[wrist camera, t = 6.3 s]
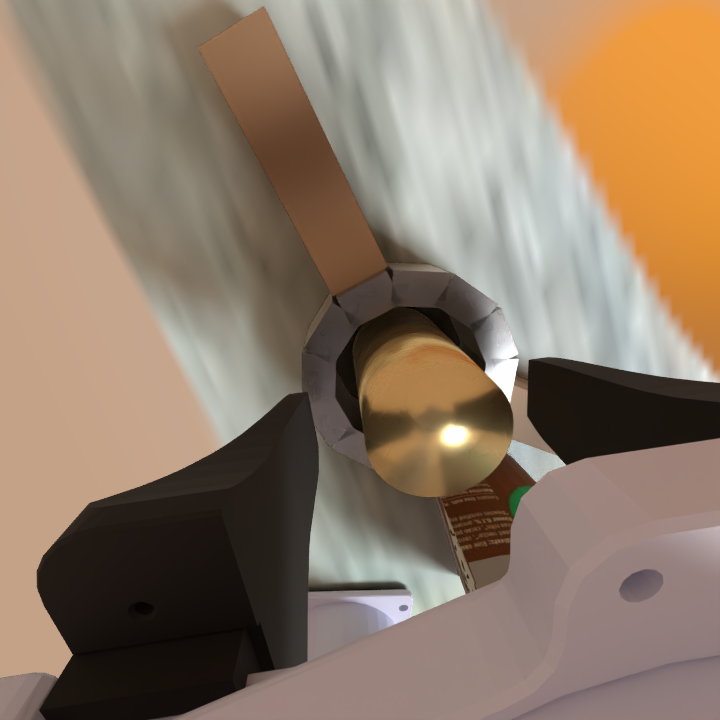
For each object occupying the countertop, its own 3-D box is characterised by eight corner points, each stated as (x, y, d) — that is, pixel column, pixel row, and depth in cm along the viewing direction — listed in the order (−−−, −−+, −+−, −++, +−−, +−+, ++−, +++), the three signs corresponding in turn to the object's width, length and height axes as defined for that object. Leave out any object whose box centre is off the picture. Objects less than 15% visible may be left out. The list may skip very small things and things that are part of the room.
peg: (448, 311, 16) (529, 370, 9) (434, 395, 17) (495, 499, 11) (356, 303, 16) (373, 360, 9) (349, 390, 17) (358, 495, 10)
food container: (566, 564, 22) (745, 825, 12) (464, 593, 22) (563, 871, 12) (536, 380, 17) (776, 563, 8) (411, 420, 18) (499, 641, 8)
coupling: (564, 436, 18) (605, 473, 16) (243, 433, 17) (225, 474, 14) (660, 77, 13) (747, 37, 11) (217, 37, 12) (182, -20, 9)
